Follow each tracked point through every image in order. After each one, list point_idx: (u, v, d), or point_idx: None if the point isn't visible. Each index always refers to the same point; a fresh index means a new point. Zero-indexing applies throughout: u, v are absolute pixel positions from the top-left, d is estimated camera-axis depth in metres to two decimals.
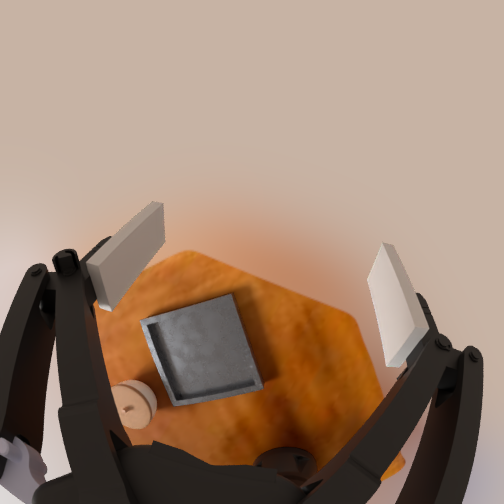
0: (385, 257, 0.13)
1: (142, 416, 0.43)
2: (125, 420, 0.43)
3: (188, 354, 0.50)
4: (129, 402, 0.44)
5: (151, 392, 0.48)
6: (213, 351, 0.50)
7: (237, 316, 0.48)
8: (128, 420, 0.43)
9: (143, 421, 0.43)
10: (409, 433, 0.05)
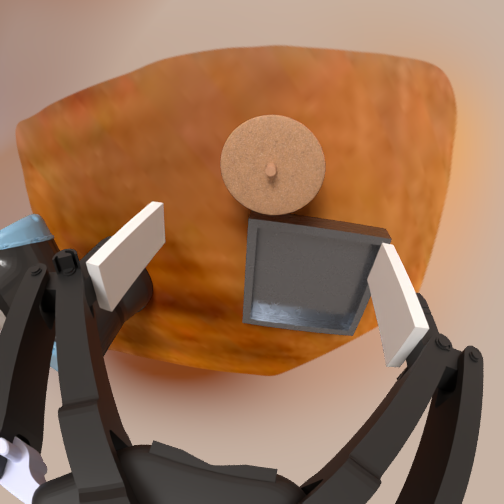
0: (385, 257, 0.13)
1: (249, 193, 0.28)
2: (244, 146, 0.25)
3: (315, 264, 0.39)
4: (284, 181, 0.27)
5: None
6: (305, 290, 0.42)
7: (330, 332, 0.44)
8: (245, 154, 0.26)
9: (238, 188, 0.28)
10: (409, 433, 0.05)
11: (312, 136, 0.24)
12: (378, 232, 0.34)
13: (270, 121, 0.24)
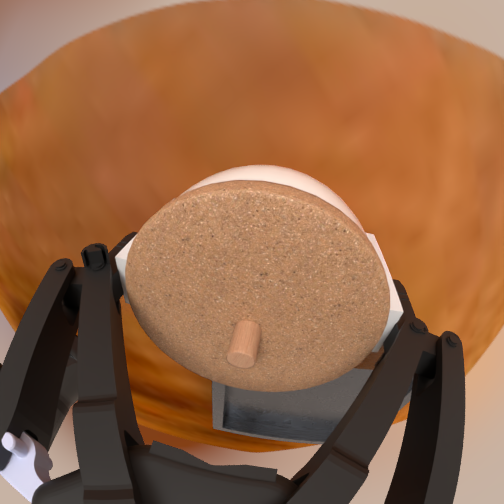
0: None
1: (197, 359, 0.12)
2: (172, 273, 0.09)
3: (318, 388, 0.24)
4: (278, 355, 0.11)
5: None
6: (299, 408, 0.26)
7: None
8: (176, 293, 0.10)
9: (174, 348, 0.12)
10: (392, 419, 0.06)
11: (375, 266, 0.08)
12: None
13: (246, 212, 0.08)
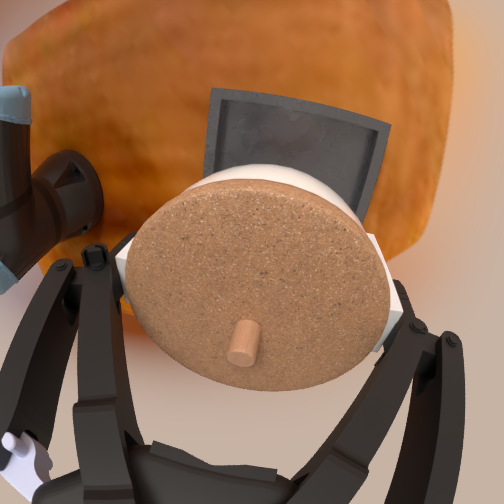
0: None
1: (197, 359, 0.12)
2: (172, 272, 0.09)
3: (295, 158, 0.30)
4: (278, 355, 0.11)
5: None
6: None
7: None
8: (176, 292, 0.10)
9: (174, 347, 0.12)
10: (392, 419, 0.06)
11: (375, 264, 0.08)
12: None
13: (246, 211, 0.08)
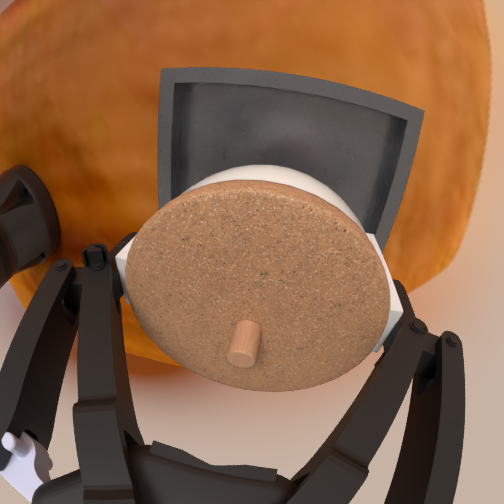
0: None
1: (197, 359, 0.12)
2: (173, 273, 0.09)
3: (286, 162, 0.21)
4: (278, 355, 0.11)
5: None
6: None
7: None
8: (176, 293, 0.10)
9: (174, 348, 0.12)
10: (392, 419, 0.06)
11: (375, 265, 0.08)
12: None
13: (246, 212, 0.08)
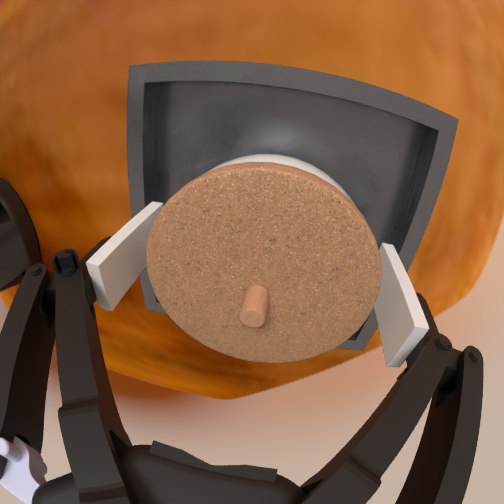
0: (385, 257, 0.13)
1: (208, 329, 0.13)
2: (192, 242, 0.11)
3: None
4: (284, 321, 0.12)
5: None
6: None
7: None
8: (194, 261, 0.11)
9: (187, 318, 0.13)
10: (409, 433, 0.05)
11: (366, 233, 0.09)
12: None
13: (259, 186, 0.09)
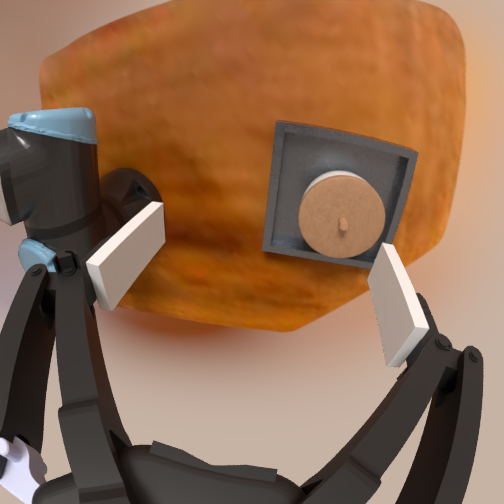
0: (385, 257, 0.13)
1: (320, 239, 0.33)
2: (322, 201, 0.30)
3: None
4: (351, 233, 0.31)
5: None
6: None
7: (357, 266, 0.40)
8: (322, 208, 0.30)
9: (312, 235, 0.32)
10: (409, 433, 0.05)
11: (378, 198, 0.28)
12: (404, 147, 0.30)
13: (346, 182, 0.28)
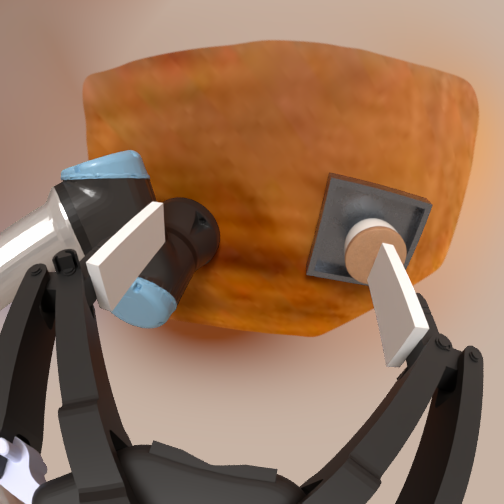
0: (385, 257, 0.13)
1: (359, 271, 0.42)
2: (365, 245, 0.39)
3: None
4: None
5: None
6: None
7: None
8: (363, 250, 0.40)
9: (354, 268, 0.42)
10: (409, 433, 0.05)
11: (403, 243, 0.38)
12: (422, 199, 0.40)
13: (383, 233, 0.38)
